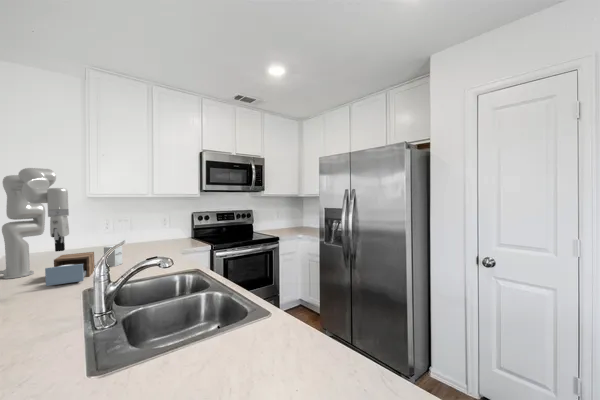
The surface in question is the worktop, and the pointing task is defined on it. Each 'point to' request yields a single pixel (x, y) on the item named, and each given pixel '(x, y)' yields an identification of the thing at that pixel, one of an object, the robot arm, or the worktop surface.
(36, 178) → the robot arm
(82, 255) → the tan storage bin
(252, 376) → the worktop surface
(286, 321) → the worktop surface
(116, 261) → the supplement box
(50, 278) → the tray
